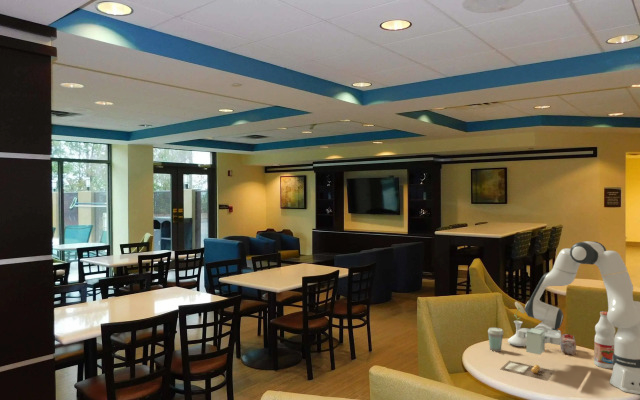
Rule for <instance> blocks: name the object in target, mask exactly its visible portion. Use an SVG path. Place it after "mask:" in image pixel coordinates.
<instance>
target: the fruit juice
mask: <svg viewBox="0 0 640 400" xmlns="http://www.w3.org/2000/svg"><path fill="white" fill-rule="evenodd" d="M607 312H608V311H603V310H602V311H600V312H599V315H600V317H599V320H598V322H597V323H596V324H595V326H594V331H595V335H594V341H593V342H594V347H593V348H594V349H593V350H594V351H593V353H594V354H593V357H594V358H593V363H594V365H595V366H597V367H599V368H603V369H613V353H614V337H615V335H616V327H615V326H613V325H612V324H610V322H609V321H608V319H607Z"/></svg>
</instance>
